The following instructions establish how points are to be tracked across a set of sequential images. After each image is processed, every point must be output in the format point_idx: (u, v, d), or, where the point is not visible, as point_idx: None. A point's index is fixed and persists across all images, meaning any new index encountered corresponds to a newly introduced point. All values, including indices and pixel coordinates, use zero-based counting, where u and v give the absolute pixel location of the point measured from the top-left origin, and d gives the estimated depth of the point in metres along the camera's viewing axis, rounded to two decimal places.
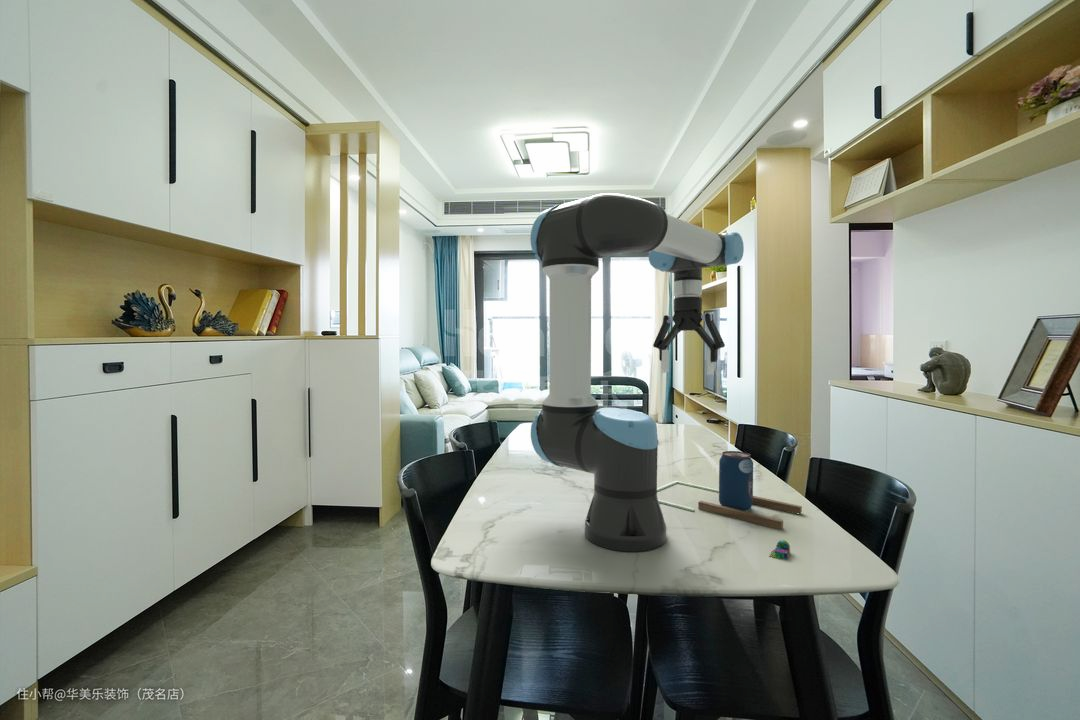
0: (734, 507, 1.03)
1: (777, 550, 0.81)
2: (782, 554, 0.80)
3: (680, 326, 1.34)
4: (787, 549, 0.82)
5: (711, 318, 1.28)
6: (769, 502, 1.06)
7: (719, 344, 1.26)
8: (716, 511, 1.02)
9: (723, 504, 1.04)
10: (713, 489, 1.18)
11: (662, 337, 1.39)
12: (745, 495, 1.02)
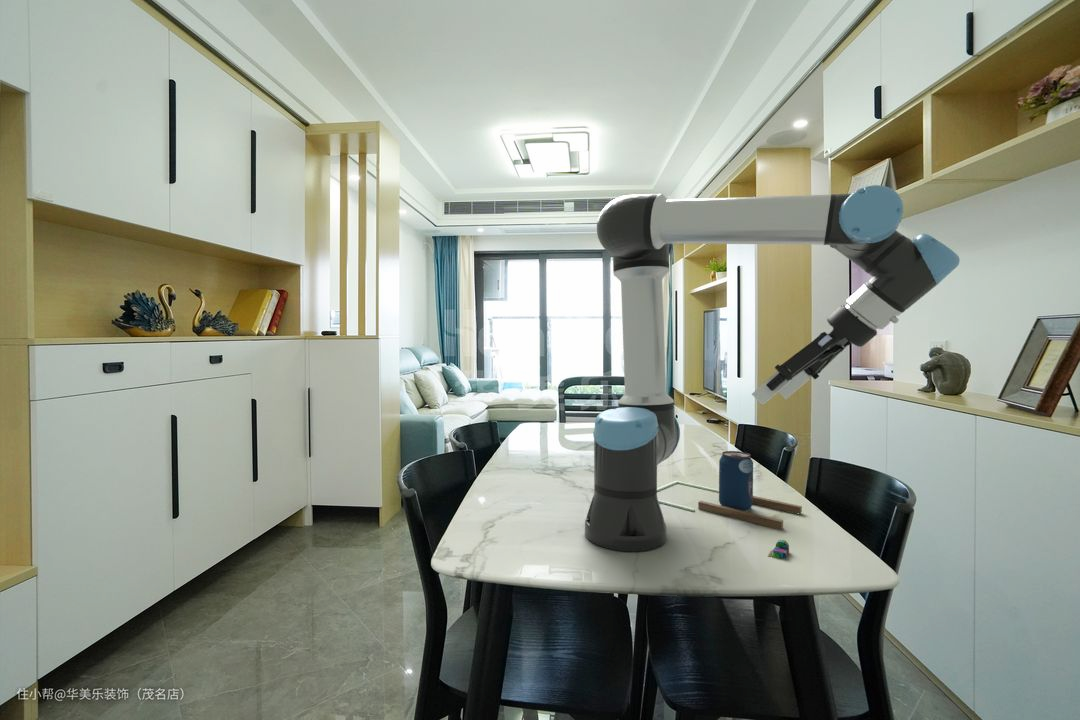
0: (734, 507, 1.03)
1: (776, 549, 0.82)
2: (780, 553, 0.81)
3: None
4: (786, 549, 0.82)
5: (822, 342, 0.82)
6: (769, 502, 1.06)
7: (780, 365, 0.84)
8: (716, 511, 1.02)
9: (723, 504, 1.04)
10: (713, 489, 1.18)
11: None
12: (745, 495, 1.02)
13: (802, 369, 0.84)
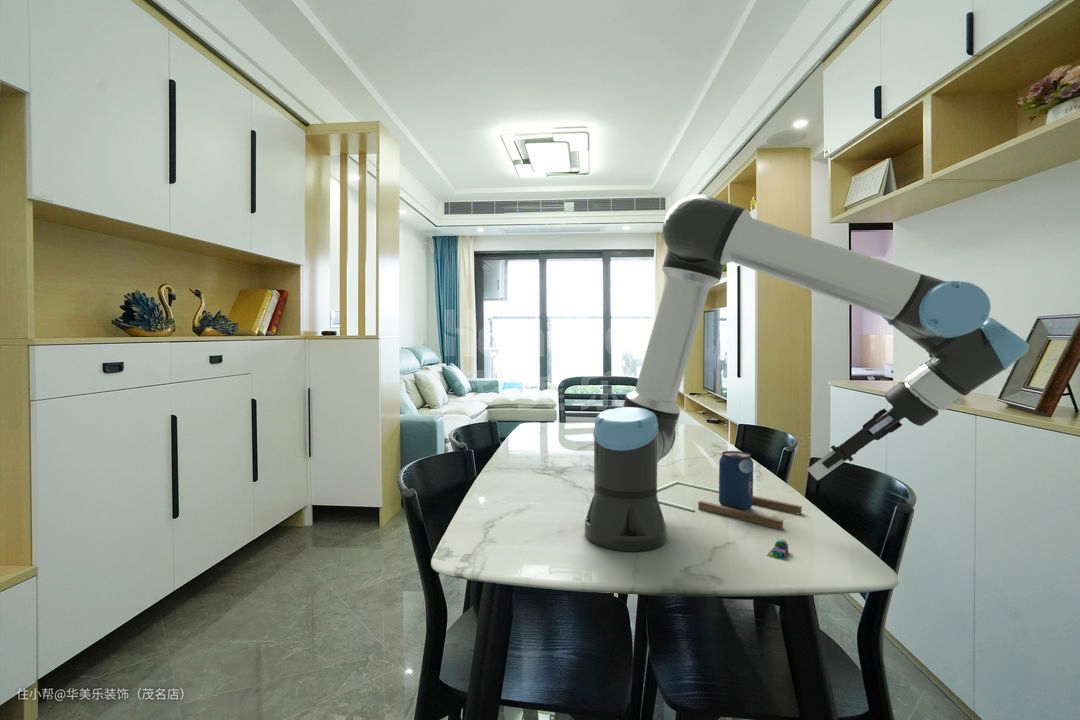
0: (734, 507, 1.03)
1: (775, 549, 0.82)
2: (779, 553, 0.81)
3: (877, 419, 0.87)
4: (785, 548, 0.82)
5: (872, 431, 0.83)
6: (769, 502, 1.06)
7: (836, 448, 0.89)
8: (716, 511, 1.02)
9: (723, 504, 1.04)
10: (713, 489, 1.18)
11: None
12: (745, 495, 1.02)
13: None
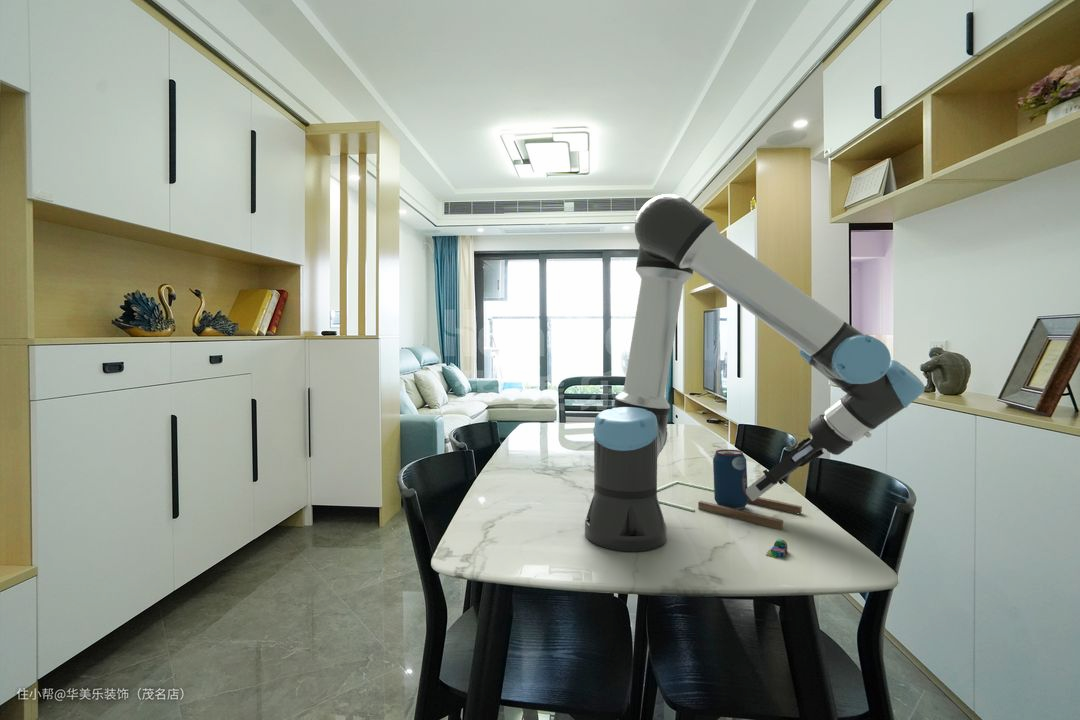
0: (729, 504, 1.03)
1: (774, 548, 0.82)
2: (778, 553, 0.81)
3: None
4: (784, 548, 0.82)
5: (794, 459, 0.92)
6: (769, 502, 1.06)
7: (766, 472, 0.98)
8: (716, 511, 1.02)
9: (719, 502, 1.05)
10: (713, 489, 1.18)
11: None
12: (740, 491, 1.03)
13: (784, 476, 0.97)
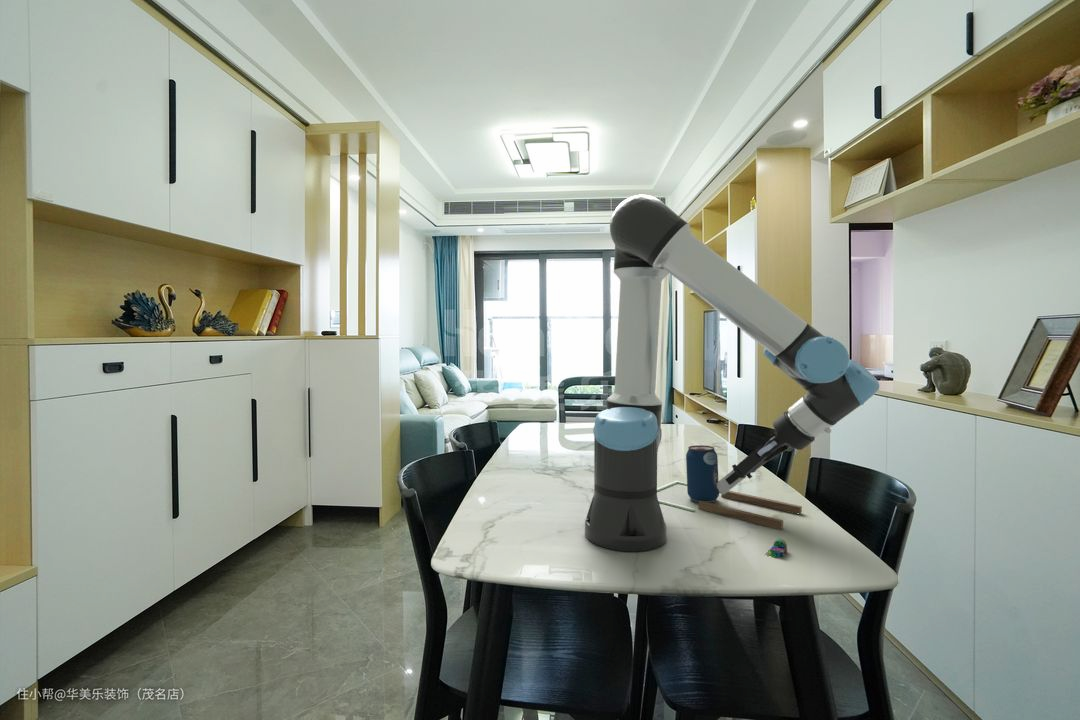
0: (701, 498, 1.08)
1: (774, 548, 0.82)
2: (777, 552, 0.81)
3: None
4: (784, 548, 0.82)
5: (759, 454, 0.97)
6: (769, 502, 1.06)
7: (734, 467, 1.03)
8: (716, 511, 1.02)
9: (691, 495, 1.09)
10: None
11: None
12: (711, 485, 1.07)
13: (751, 470, 1.02)
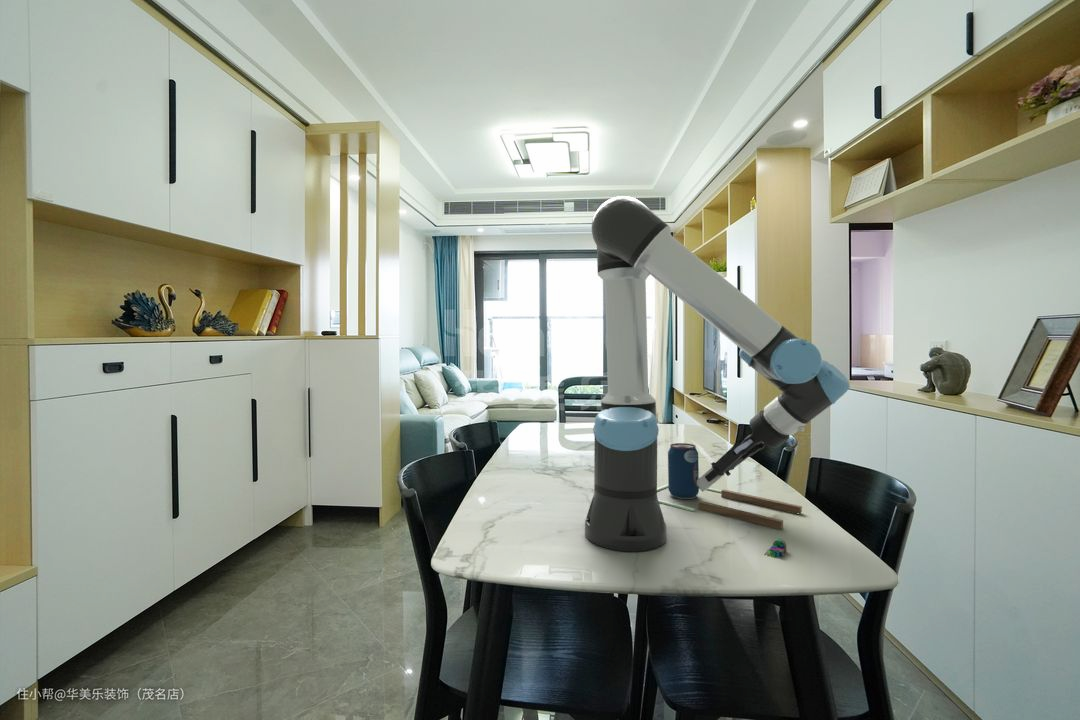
0: (681, 494, 1.11)
1: (773, 548, 0.82)
2: (777, 552, 0.81)
3: None
4: (783, 548, 0.82)
5: (735, 452, 1.00)
6: (769, 502, 1.06)
7: (713, 465, 1.06)
8: (716, 511, 1.02)
9: (672, 492, 1.12)
10: (713, 489, 1.18)
11: None
12: (691, 483, 1.10)
13: (729, 468, 1.04)
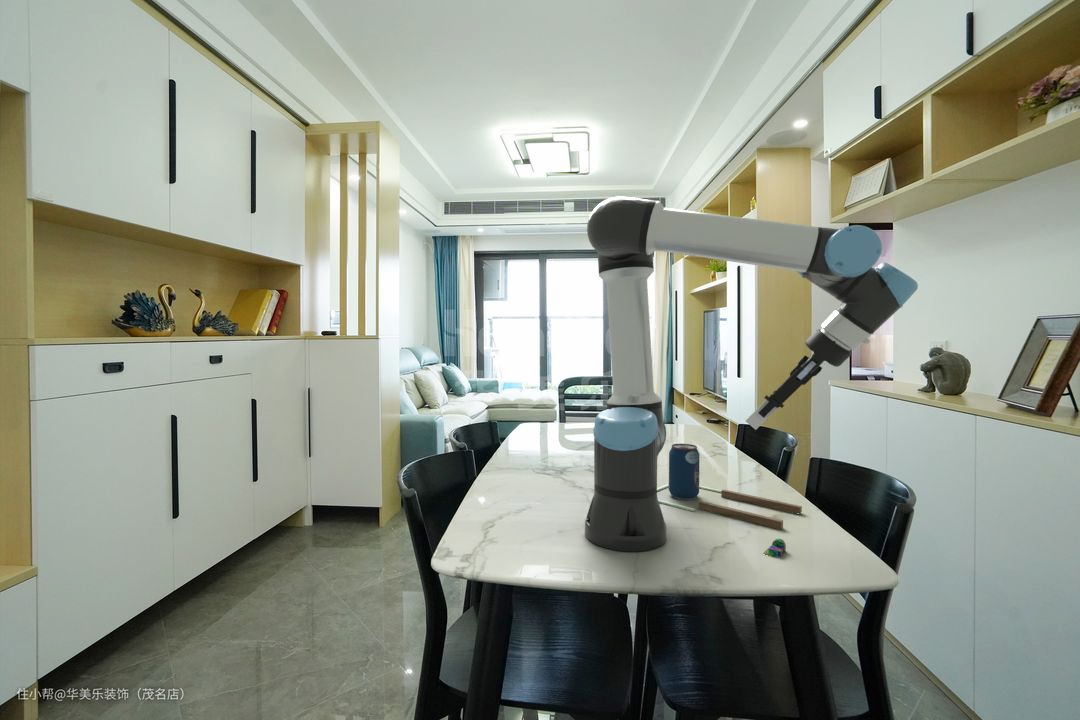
0: (681, 495, 1.11)
1: (772, 548, 0.82)
2: (775, 552, 0.81)
3: None
4: (782, 547, 0.82)
5: (799, 377, 0.91)
6: (769, 502, 1.06)
7: (769, 397, 0.96)
8: (716, 511, 1.02)
9: (672, 492, 1.12)
10: (713, 489, 1.18)
11: None
12: (691, 483, 1.10)
13: None
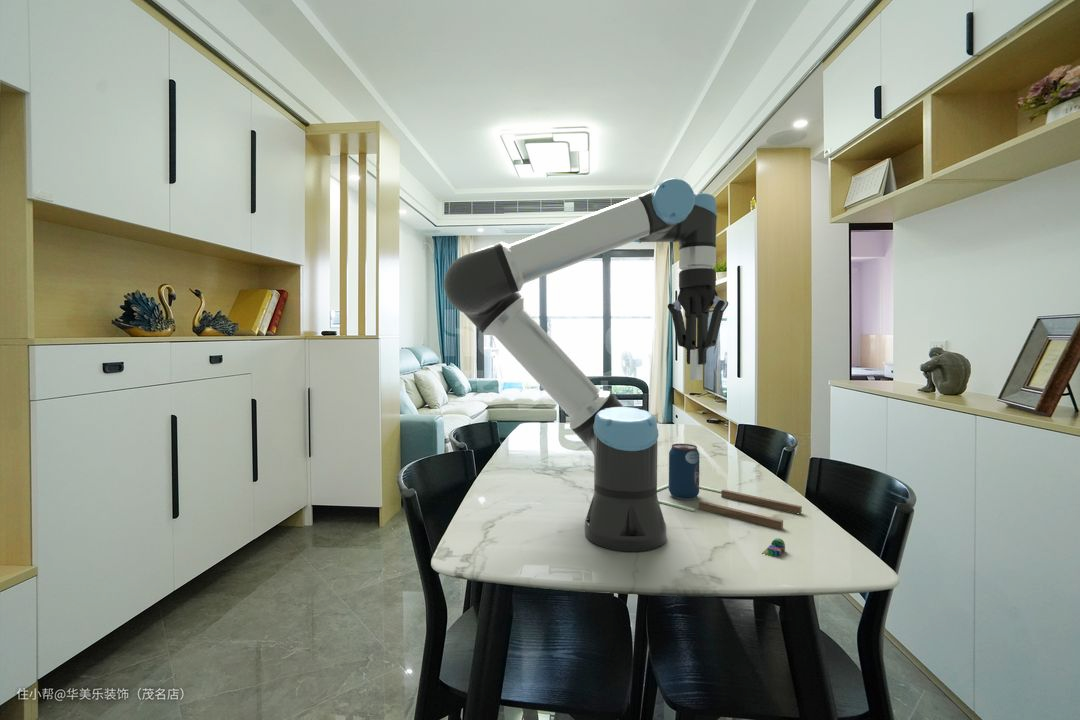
0: (681, 495, 1.11)
1: (771, 547, 0.82)
2: (774, 551, 0.81)
3: (692, 306, 1.02)
4: (781, 547, 0.82)
5: (723, 308, 0.98)
6: (769, 502, 1.06)
7: (709, 343, 0.99)
8: (716, 511, 1.02)
9: (672, 492, 1.12)
10: (713, 489, 1.18)
11: (682, 330, 1.05)
12: (691, 483, 1.10)
13: None
